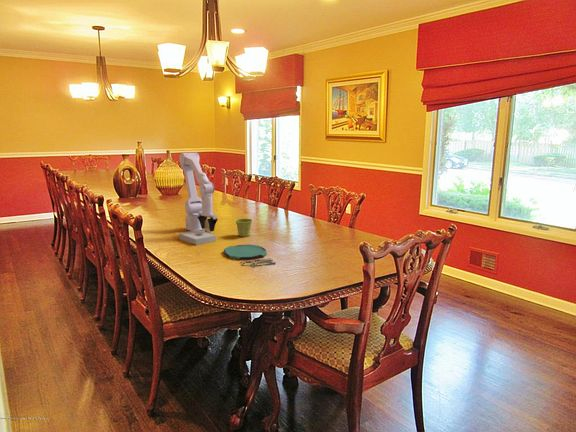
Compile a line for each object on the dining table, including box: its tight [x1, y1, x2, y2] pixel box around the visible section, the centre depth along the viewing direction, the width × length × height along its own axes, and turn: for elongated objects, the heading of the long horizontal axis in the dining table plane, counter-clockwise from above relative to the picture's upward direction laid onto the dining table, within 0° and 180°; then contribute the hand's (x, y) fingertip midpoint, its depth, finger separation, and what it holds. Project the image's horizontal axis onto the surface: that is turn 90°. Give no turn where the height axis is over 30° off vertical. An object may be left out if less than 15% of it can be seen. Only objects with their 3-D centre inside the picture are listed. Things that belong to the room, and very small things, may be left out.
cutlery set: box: [223, 243, 277, 268], centre depth 196 cm, size 20×30×2 cm, turn 23°
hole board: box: [178, 230, 217, 246], centre depth 223 cm, size 16×12×3 cm
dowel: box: [204, 220, 212, 234], centre depth 233 cm, size 3×3×8 cm
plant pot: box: [234, 218, 254, 238], centre depth 233 cm, size 9×9×9 cm
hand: (207, 229), depth 233 cm, fingers open, 7 cm apart
